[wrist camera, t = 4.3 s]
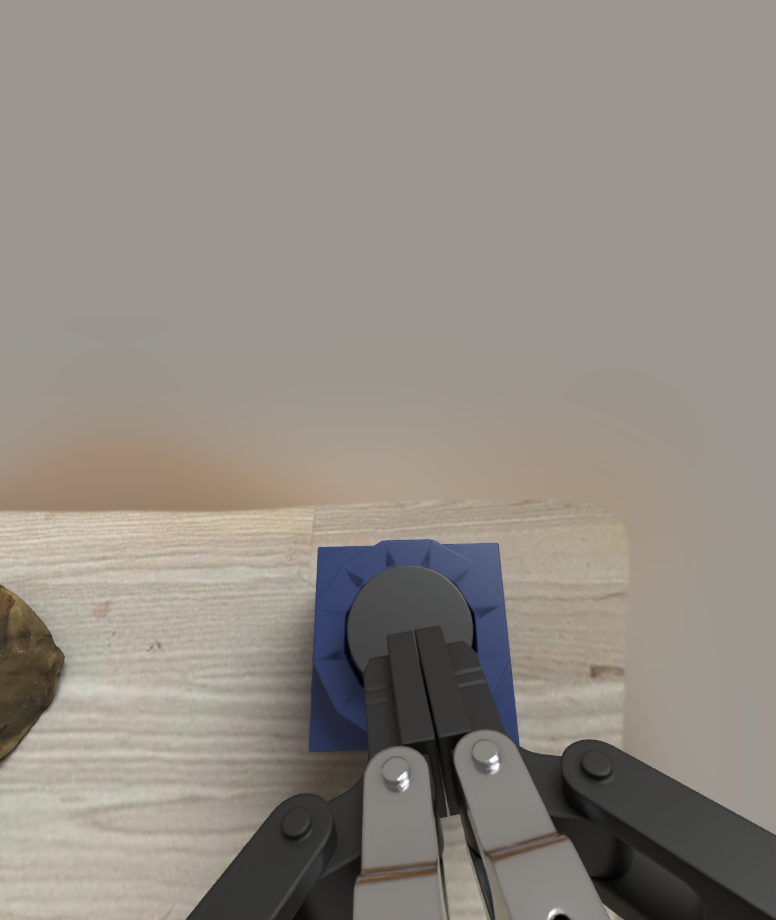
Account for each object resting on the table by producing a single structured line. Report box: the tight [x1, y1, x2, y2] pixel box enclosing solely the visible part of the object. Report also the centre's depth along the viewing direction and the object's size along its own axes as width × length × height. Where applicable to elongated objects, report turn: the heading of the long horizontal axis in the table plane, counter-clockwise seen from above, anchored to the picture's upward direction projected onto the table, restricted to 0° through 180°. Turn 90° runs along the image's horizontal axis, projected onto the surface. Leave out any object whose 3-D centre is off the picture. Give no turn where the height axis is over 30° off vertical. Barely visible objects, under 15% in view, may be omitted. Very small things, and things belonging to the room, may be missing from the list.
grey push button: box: [347, 565, 473, 673], centre depth 19 cm, size 4×4×2 cm
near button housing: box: [309, 539, 519, 752], centre depth 23 cm, size 8×8×8 cm
